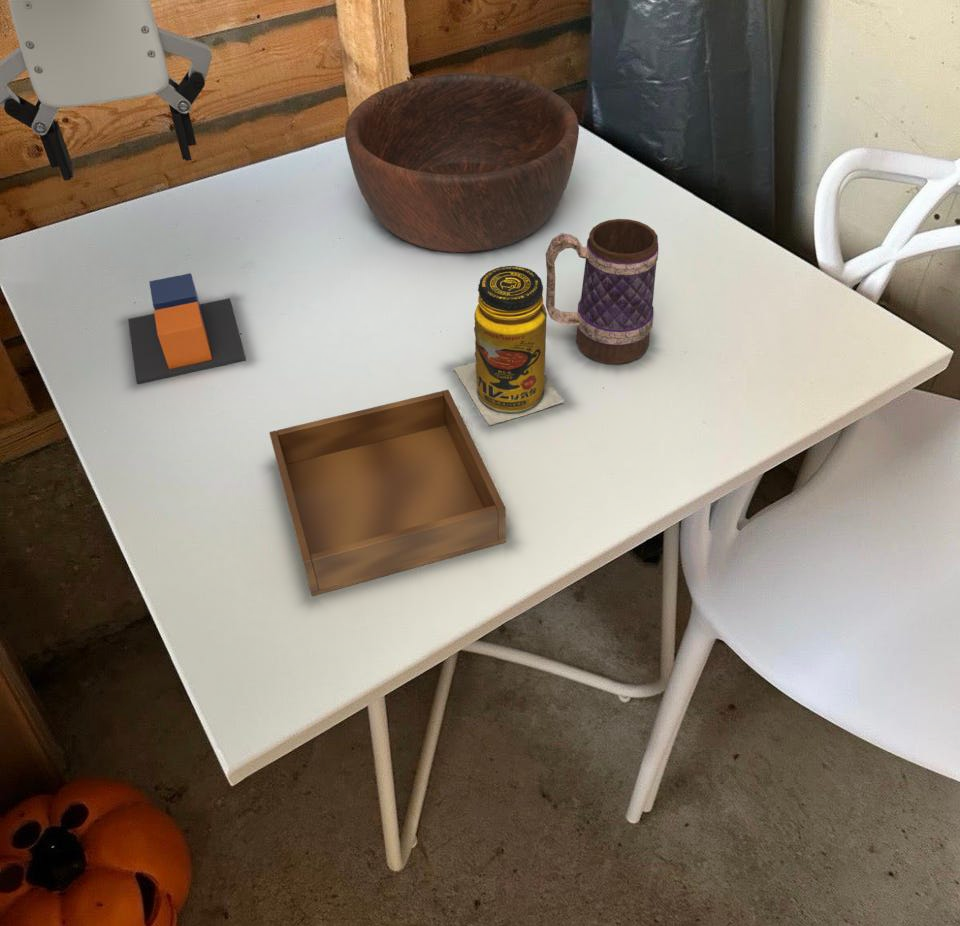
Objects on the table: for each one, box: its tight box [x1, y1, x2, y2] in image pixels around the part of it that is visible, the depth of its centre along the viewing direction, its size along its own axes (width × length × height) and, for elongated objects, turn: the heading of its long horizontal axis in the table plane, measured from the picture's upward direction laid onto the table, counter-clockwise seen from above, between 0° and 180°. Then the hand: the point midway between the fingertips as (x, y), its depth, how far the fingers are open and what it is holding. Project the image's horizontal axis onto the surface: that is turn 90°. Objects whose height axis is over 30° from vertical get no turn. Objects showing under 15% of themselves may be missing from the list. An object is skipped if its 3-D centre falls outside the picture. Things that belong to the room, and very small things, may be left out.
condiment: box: [453, 265, 565, 426], centre depth 80 cm, size 7×8×12 cm
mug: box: [545, 218, 659, 365], centre depth 84 cm, size 10×7×12 cm
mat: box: [128, 297, 246, 385], centre depth 90 cm, size 10×10×1 cm
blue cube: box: [149, 272, 205, 326], centre depth 90 cm, size 4×4×4 cm
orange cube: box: [153, 302, 212, 369], centre depth 86 cm, size 4×4×4 cm
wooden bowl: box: [344, 72, 580, 253], centre depth 102 cm, size 25×25×10 cm
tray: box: [269, 389, 507, 597], centre depth 73 cm, size 15×14×4 cm
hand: (128, 163), depth 78 cm, fingers open, 9 cm apart
